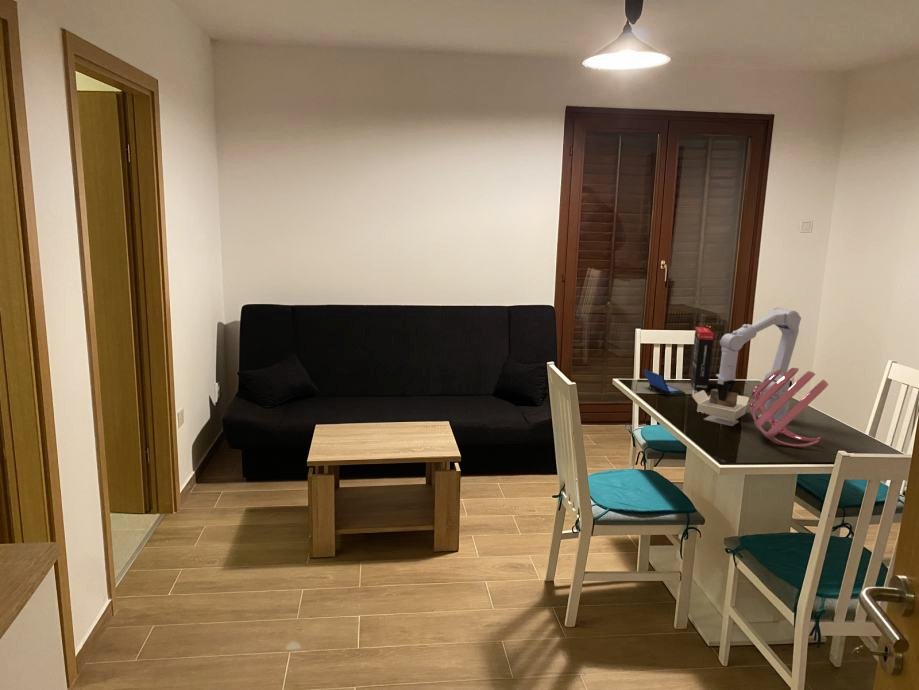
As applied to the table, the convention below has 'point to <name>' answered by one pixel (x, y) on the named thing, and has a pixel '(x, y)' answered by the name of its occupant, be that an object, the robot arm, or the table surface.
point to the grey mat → (721, 420)
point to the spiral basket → (768, 414)
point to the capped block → (729, 401)
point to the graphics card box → (701, 358)
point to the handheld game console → (661, 384)
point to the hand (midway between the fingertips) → (723, 399)
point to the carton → (720, 406)
